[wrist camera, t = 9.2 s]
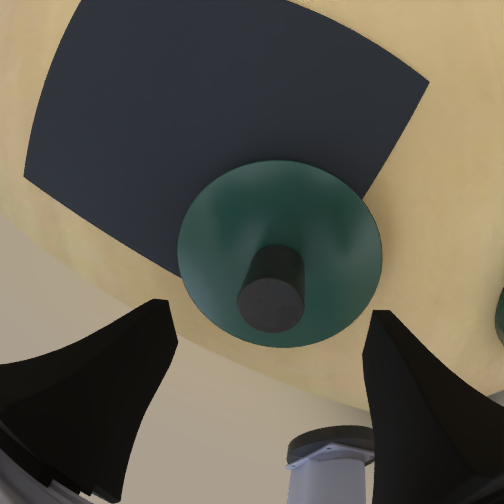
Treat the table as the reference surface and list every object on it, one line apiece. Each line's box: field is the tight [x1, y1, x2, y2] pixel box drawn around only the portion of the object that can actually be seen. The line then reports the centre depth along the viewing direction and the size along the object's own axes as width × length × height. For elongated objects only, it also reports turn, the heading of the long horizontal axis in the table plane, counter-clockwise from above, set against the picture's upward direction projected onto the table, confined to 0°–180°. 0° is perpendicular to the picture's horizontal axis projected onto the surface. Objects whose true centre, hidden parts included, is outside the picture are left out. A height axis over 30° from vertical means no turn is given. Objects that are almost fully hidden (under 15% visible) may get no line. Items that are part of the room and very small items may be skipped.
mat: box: [24, 0, 429, 278], centre depth 12 cm, size 16×21×1 cm
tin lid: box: [177, 159, 382, 348], centre depth 12 cm, size 10×10×4 cm
